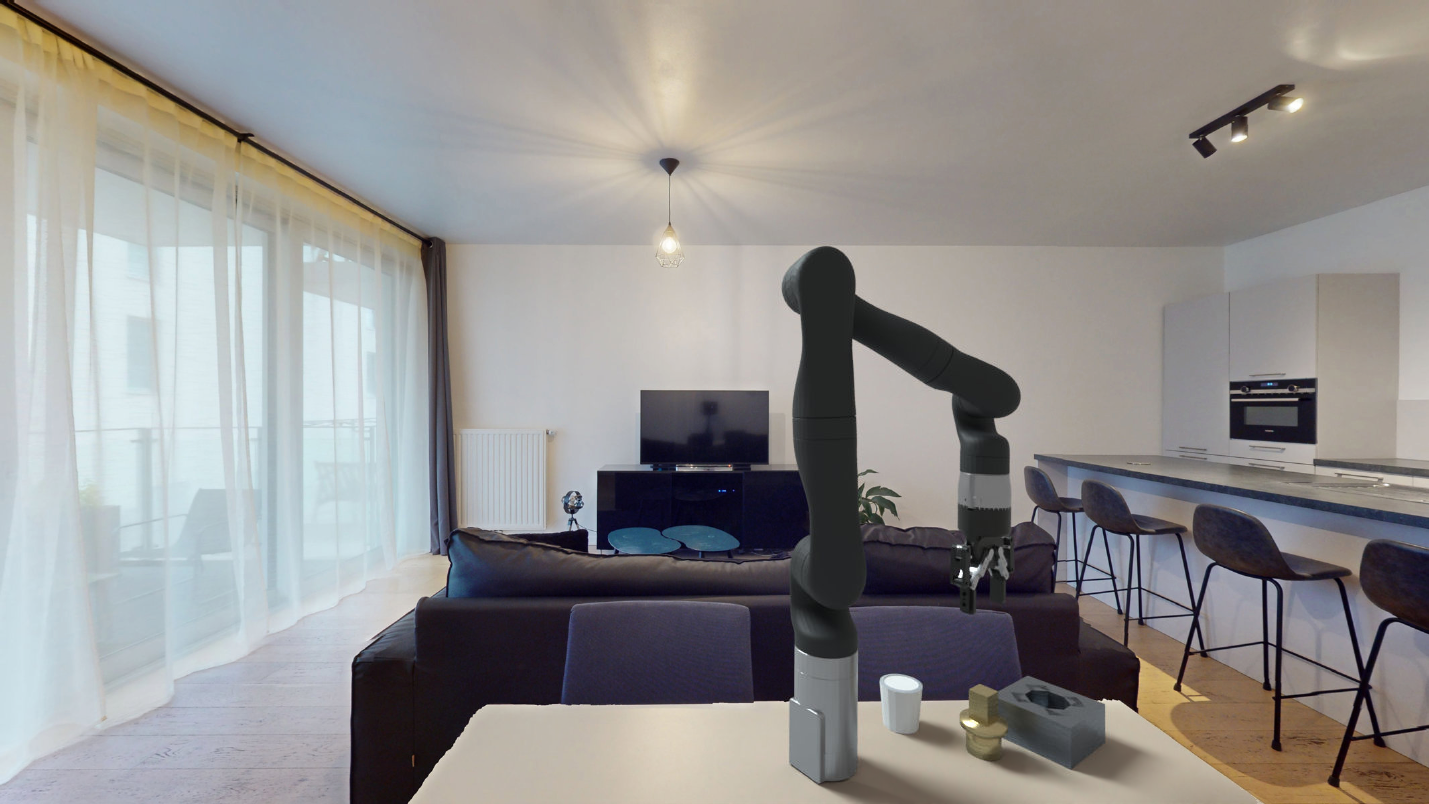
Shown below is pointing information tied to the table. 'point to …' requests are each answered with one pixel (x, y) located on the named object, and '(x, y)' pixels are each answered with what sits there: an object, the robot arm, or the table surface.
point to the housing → (1052, 720)
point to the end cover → (983, 724)
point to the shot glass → (901, 702)
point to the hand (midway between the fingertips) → (983, 607)
